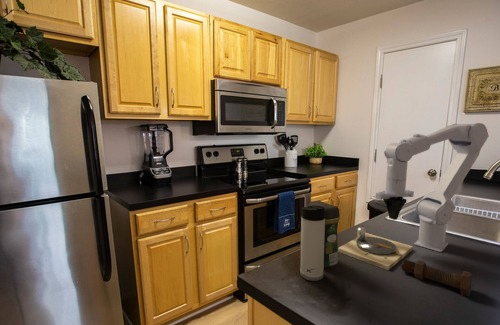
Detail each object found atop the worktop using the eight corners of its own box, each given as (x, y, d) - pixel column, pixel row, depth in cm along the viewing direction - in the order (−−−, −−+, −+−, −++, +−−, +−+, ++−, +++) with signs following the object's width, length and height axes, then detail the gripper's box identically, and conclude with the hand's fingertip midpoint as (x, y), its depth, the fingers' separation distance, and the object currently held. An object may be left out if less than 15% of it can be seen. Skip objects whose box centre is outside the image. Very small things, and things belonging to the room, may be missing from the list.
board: (365, 235, 100) (365, 232, 99) (412, 249, 88) (412, 245, 87) (337, 251, 87) (337, 247, 86) (388, 270, 75) (388, 265, 74)
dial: (348, 245, 88) (349, 231, 87) (365, 236, 96) (365, 223, 95) (387, 258, 78) (388, 243, 78) (401, 247, 86) (402, 232, 86)
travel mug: (311, 284, 68) (312, 210, 66) (295, 272, 74) (296, 204, 71) (329, 278, 71) (331, 207, 69) (312, 267, 77) (314, 201, 74)
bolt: (402, 276, 75) (470, 298, 64) (397, 273, 72) (467, 296, 61) (406, 256, 77) (472, 274, 66) (401, 252, 73) (470, 271, 63)
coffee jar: (301, 256, 83) (302, 200, 81) (321, 251, 86) (322, 197, 84) (321, 271, 74) (323, 208, 72) (342, 265, 78) (344, 205, 76)
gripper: (389, 182, 80) (386, 224, 82) (423, 180, 85) (419, 220, 86) (371, 178, 87) (369, 217, 88) (404, 176, 91) (401, 214, 93)
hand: (393, 218), depth 88 cm, fingers closed
